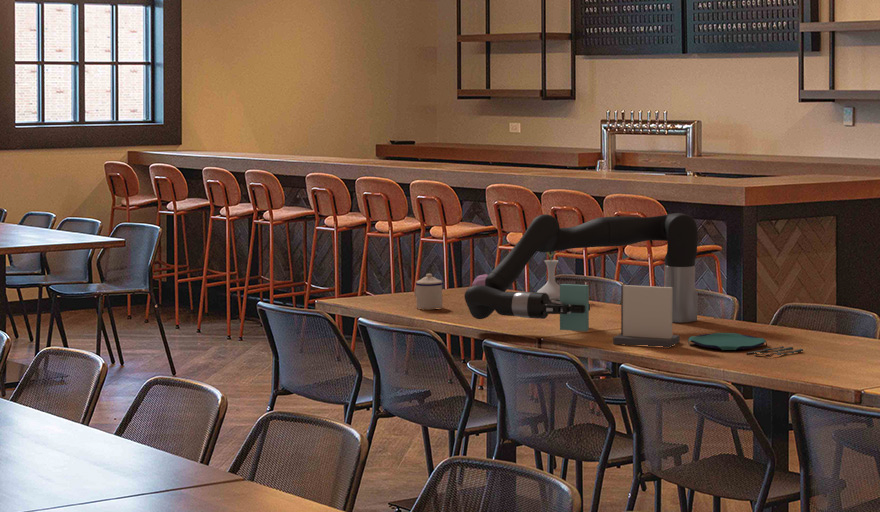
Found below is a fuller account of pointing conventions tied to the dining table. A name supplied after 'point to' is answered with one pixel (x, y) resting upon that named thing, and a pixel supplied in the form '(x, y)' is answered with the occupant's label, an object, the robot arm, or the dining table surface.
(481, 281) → the cupcake
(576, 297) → the teal flat panel
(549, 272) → the flower in vase
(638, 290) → the ticket stand
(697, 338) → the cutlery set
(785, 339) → the dining table surface
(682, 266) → the robot arm
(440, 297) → the teacup with lid
